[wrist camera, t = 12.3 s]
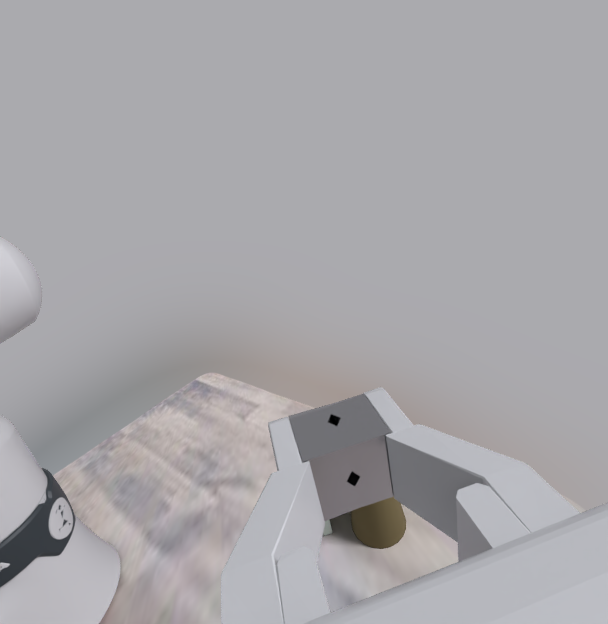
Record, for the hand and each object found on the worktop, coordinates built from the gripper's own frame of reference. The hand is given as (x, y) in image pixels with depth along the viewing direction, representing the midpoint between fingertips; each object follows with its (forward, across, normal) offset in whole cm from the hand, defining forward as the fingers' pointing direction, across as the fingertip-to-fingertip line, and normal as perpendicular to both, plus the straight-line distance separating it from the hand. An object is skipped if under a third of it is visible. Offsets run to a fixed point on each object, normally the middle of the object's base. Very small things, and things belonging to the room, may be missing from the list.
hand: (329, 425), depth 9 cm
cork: (+20, -6, +32) cm, 38 cm away
